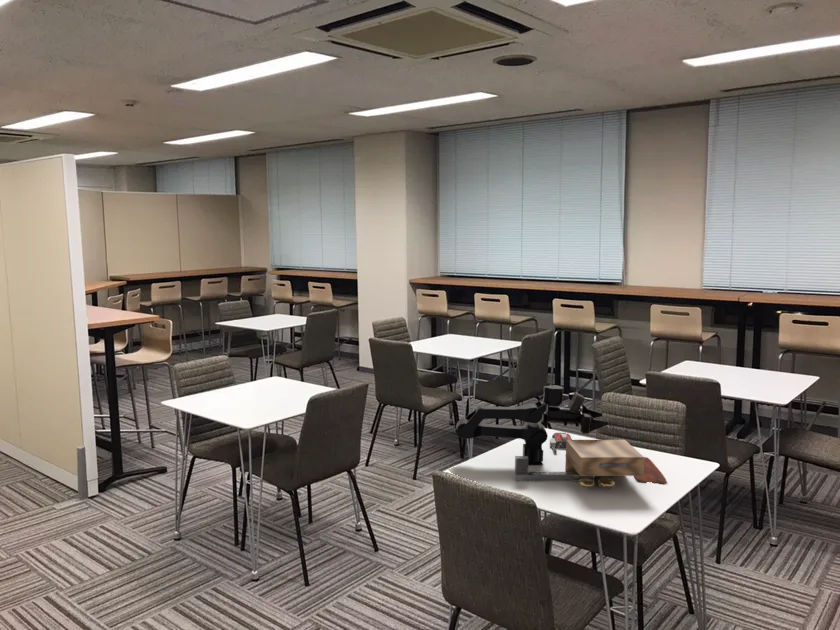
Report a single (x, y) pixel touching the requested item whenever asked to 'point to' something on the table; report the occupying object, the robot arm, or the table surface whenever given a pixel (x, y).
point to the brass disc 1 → (586, 483)
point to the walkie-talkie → (559, 440)
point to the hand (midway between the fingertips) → (605, 418)
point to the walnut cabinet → (603, 458)
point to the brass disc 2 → (606, 483)
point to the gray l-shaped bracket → (542, 473)
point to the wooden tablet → (651, 473)
